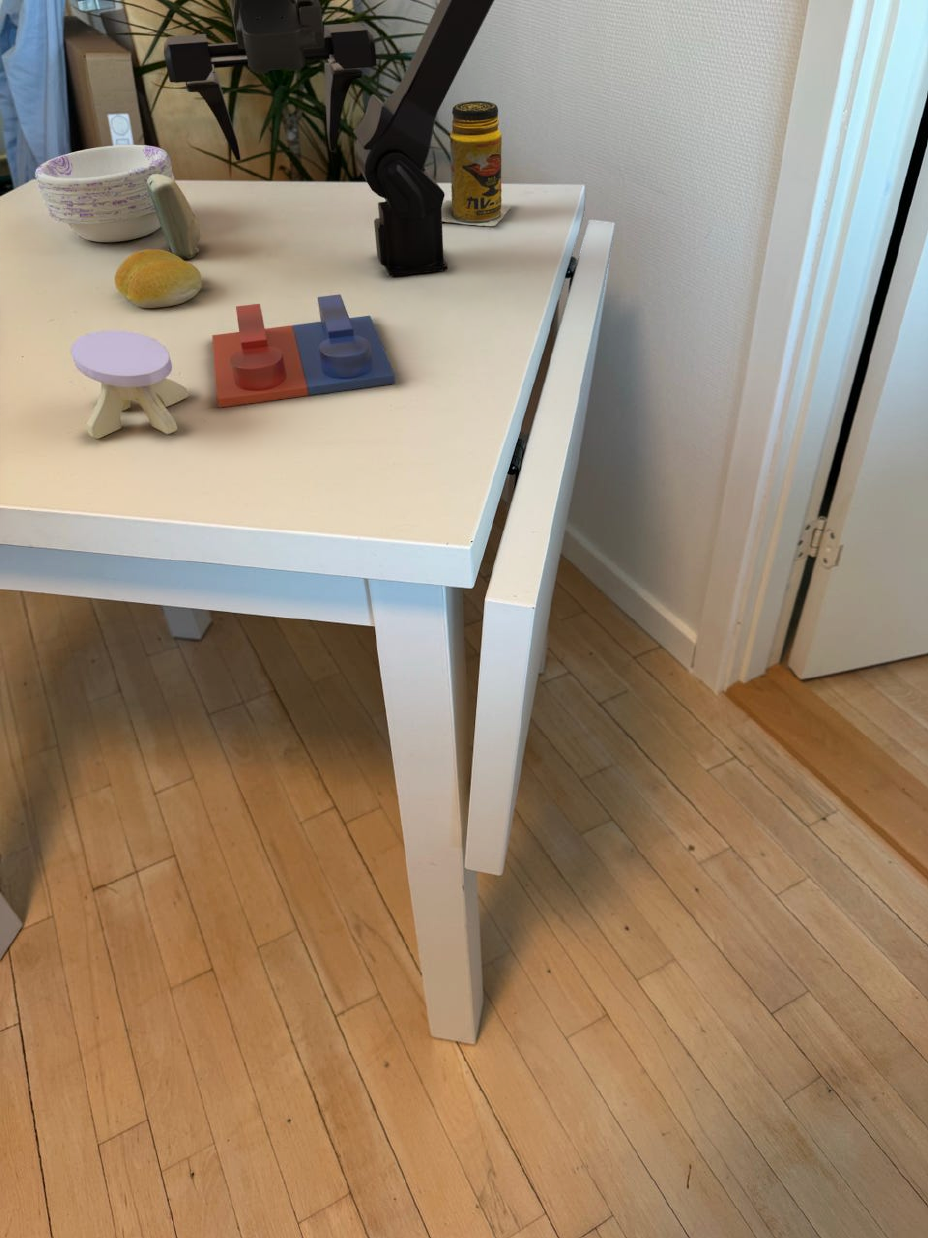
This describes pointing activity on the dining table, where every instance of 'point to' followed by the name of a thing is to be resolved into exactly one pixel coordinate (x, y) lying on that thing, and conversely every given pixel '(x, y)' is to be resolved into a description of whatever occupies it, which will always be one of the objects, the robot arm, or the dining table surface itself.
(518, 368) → the dining table surface
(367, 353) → the blue spoon
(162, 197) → the green soap bar
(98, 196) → the paper bowls
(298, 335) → the sorting board
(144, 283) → the bread roll
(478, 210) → the condiment
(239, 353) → the red spoon
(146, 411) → the toy table
